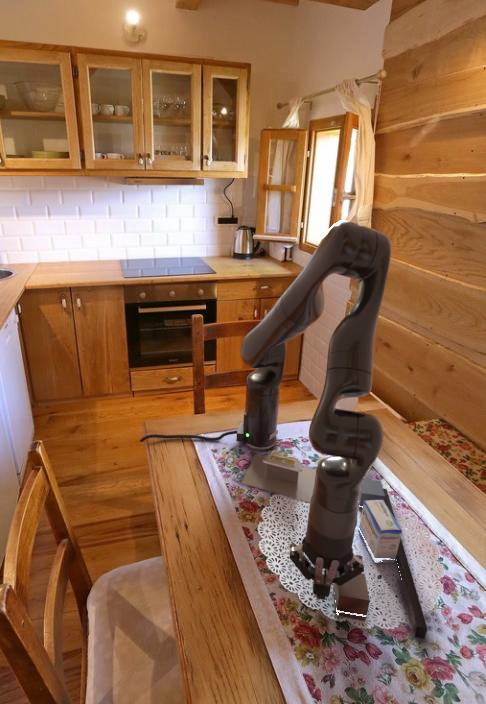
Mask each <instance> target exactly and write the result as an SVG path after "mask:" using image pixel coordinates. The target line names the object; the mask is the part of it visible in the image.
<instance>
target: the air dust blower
mask: <svg viewBox="0 0 486 704" xmlns="http://www.w3.org/2000/svg"><path fill="white" fill-rule="evenodd" d="M358 404H359V397H351V398H343V399H341V400H339V401H338V402H337V403H336V406H335V408H337V409H342V410H349V411H356V410H357V407H358Z"/></svg>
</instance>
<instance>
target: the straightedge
mask: <svg viewBox="0 0 486 704" xmlns="http://www.w3.org/2000/svg"><path fill="white" fill-rule="evenodd" d="M383 491H384V494H385V499H384V502H385V504H386V505H387V507H388V508H389V510H390V512H391V513H392V515H393V517H394V518H395V520H396V521H397V519H396V515H395V512H394V509H393V506H392V502H391V499H390V495H389V493H388V489H387V488H383ZM396 559H397V561H396ZM396 559H395V562H394V563H395V567H396V571H397V574H398V579H399V582H400V586H401V590H402V595H403V598H404V602H405V606H406V610H407V614H408V618H409V620H410V621H409V622H410V626H411V629H412V632H413V636H414V638H419V639H425V638H426V635H427V631H428V626H427V622H426V618H425V616H424V612H423V609H422V605H421V602H420V599H419V595H418V590H417V588H416V585H415V582H414V578H413V575H412V571H411V568H410V564H409V561H408V557H407V554H406V551H405V547H404V544H403V541H402V537H401V538H400V542H399V547H398V551H397V555H396ZM397 563H398V564H397ZM398 566H399V568H398ZM399 571H400V572H399ZM400 574H401V576H400ZM401 578H402V580H401Z"/></svg>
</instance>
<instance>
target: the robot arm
mask: <svg viewBox="0 0 486 704" xmlns="http://www.w3.org/2000/svg"><path fill="white" fill-rule="evenodd" d="M391 244H392V243H391V239H390V237H389V236H388V235H387V234H386V233H385V232H382V231H379V230H377V229H374V228H371V227H369V226H365V225H362V224H359V223H355V222H352V221H348V220H339V221H338V222H336V223H334V224H333V225H332V226H331V227H330V228H329V229H328V230H327V232H326V233H325V234H324V236H323V237H322V239H321V240H320V242H319V243H318V245H317V247H316V248H315V250H314V252H313V253H312V255H311V257H310V258H309V260H308V261H307V263H306V264H305V265H304V267H303V268H302V269H301V271H300V273H299V274H298V275H297V277H296V278H295V279H294V281H292V283H291V284H290V285H289V287H287V288H286V290H285V291H284V292H283V294H282V295H281V296H280V297H279V299H278V300H277V301H276V303H275V304H274V306H272V308H271V309H270V310H269V312H268V313H267V314H266V315H265V316H264V318H263V319H262V320H261V321H260V322H259V323H258V324H256V326H255V327H254V328H252V329H251V330H250V331H249V332H248V333H247V334H246V335H245V336H244V338H243V340H242V342H241V346H240V356H241V359H242V361H243V363H244V364H245V365H246V366H247V367H248V368H252V369H255V370H253V371H252V372H251V373H249V374H248V375H247V377H246V382H245V401H244V413H243V422H238V427H237V429H236V430H230V431H226V432H223V433H222V434H221V435H219V436H217V437H207V436H202V435H196V434H157V433H156V434H154V433H153V434H147V435H145V436H143V437H141V438H140V440H139V442H140V443H142V442H145V441H146V440H147V439H151V438H152V439H153V438H157V439H158V438H160V439H198V440H203V441H208V442H209V441H211V442H215V441H216V442H217V441H220V440H222V439H224V438H225V437H227V436H230V435H231V436H232V435H236V440H235V441H236V442H238V443H242V445H243V446H247V447H248V448H250V449H253V450H256V451H266V450H270V449H273V448H274V447H275V445H276V443H277V435H279V429H278V420H279V419H278V417H279V404H280V392H281V385H282V383H283V380H284V374H285V367H286V361H287V360H286V359H287V342H289V341H291V340H293V339H295V338H297V337H299V336H301V335H302V334H304V333H305V332H306V331H308V330H309V329H310V328H311V327H312V326H313V325H314V324H315V323H316V322H317V321H318V320H319V319H320V318H321V316H322V314H323V312H324V310H325V309H324V308H325V295H324V293H325V292H324V288H323V287H324V286H323V285H324V284H323V283H324V282H325V280H326V279H327V278H328V277H329V276H331V275H334V274H335V275H338V276H342V277H346V278H349V279H353V280H356V281H358V282H357V283H358V292H357V297H356V299H355V301H354V304H353V305H352V307H351V308H350V310H349V311H348V312H347V314H346V315H345V316H344V317H343V318H342V319H341V321H340V322H339V323H338V325H337V326H336V327H335V329H334V331H333V333H332V334H331V337H330V340H329V343H328V349H327V351H328V352H327V362H326V372H325V379H324V385H323V388H322V389H323V390H322V393H321V396H320V399H319V401H318V404H317V406H316V409H315V411H314V414H313V416H312V419H311V422H310V424H309V429H308V440H309V442H310V444H311V447H312V448H313V450H314V451H315V452H317V453H319V454H321V455H326V456H328V457H326V458H323V459H321V460H320V461H319V462H318V463H317V466H316V469H315V470H316V475H315V483H314V491H313V495H312V498H311V502H310V503H309V509H308V516H307V523H306V533H305V536H304V537H303V538H302V541H301V543H300V544H298V545H297V544H296V543H290V544H289V559H290V561H291V562H292V563H293V564H294V566H295V567H296V568H297V570H298V571H299V572H300V573H301V575H302V576H303V577H304V579H305V580H307V581H310V580H312V593H313V595H314V596H315V597H316V599H317V600H318V599H319V600H322V601H326V598H329V597H330V594H331V589H332V586H333V585H334V583H336V584H337V585H339V586H341V585H343V584H345V583H346V582H348V581H350V580H351V579H353V578H354V577H356V576H358V575H359V574H361V573H363V574H364V572H365V566H364V565H365V564H364V560H363V556H362V555H360V554H356V555H355V553H354V549H353V543H354V539H355V533H356V528H357V525H358V515H359V509H358V501H359V496H360V490H361V485H362V482H363V480H364V479H366V476H367V475H368V473H369V471H370V470H371V467H372V466H373V465H374V463H375V461H376V460H377V458H378V456H379V455H380V452H381V450H382V447H383V443H384V428H383V426H382V424H381V422H380V420H379V419H378V418H377V417H376V416H375V415H374V414H371V413H368V412H364V411H356V410H355V411H349V410H342V409H337V408H335V406H336V403H337V402H338V401H339V400H341V399H343V398H351V397H358V398H361V397H362V398H363V397H366V396H368V395H369V394H370V393H371V391H372V387H373V376H374V375H373V373H374V356H375V355H374V350H375V339H376V333H377V326H378V321H379V316H380V311H381V308H382V303H383V300H384V294H385V289H386V284H387V280H388V275H389V270H390V265H391V259H392V245H391ZM343 573H344V574H343ZM342 574H343V575H342Z"/></svg>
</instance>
